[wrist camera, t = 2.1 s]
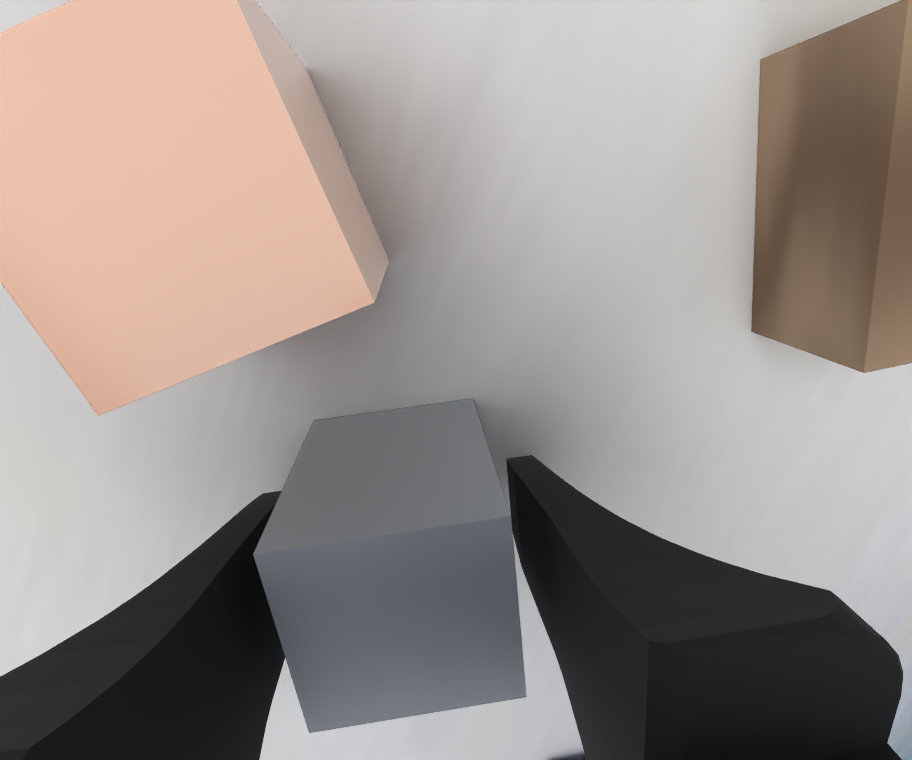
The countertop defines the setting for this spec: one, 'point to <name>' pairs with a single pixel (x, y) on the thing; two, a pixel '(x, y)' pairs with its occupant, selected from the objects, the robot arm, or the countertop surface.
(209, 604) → the robot arm
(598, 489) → the countertop surface
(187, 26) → the terracotta block
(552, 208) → the countertop surface
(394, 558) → the slate block
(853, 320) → the walnut block
